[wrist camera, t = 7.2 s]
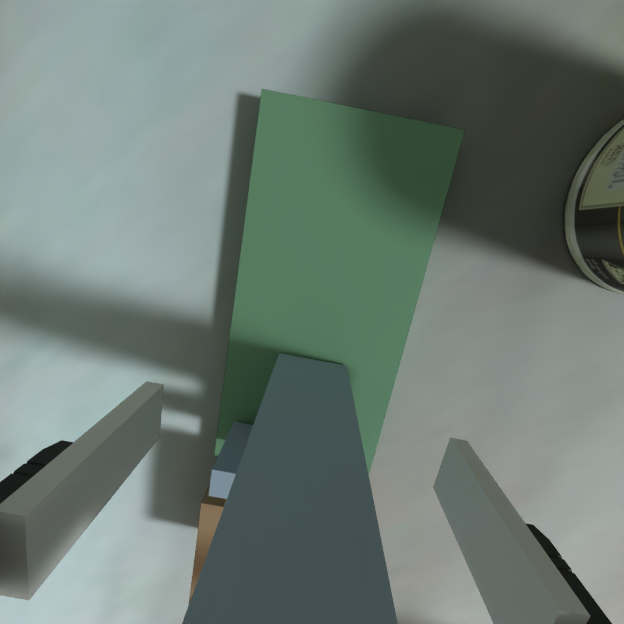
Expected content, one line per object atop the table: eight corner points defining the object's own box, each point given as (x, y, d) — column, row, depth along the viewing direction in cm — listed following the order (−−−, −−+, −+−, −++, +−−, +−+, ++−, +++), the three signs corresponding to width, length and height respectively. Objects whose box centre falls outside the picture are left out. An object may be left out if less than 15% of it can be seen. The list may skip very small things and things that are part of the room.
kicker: (245, 346, 18) (-2, 705, 4) (380, 372, 18) (565, 799, 4) (231, 443, 19) (20, 929, 6) (355, 466, 20) (434, 994, 6)
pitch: (267, 101, 16) (261, 88, 15) (452, 139, 16) (465, 130, 15) (221, 441, 21) (214, 456, 20) (363, 466, 22) (365, 483, 20)
